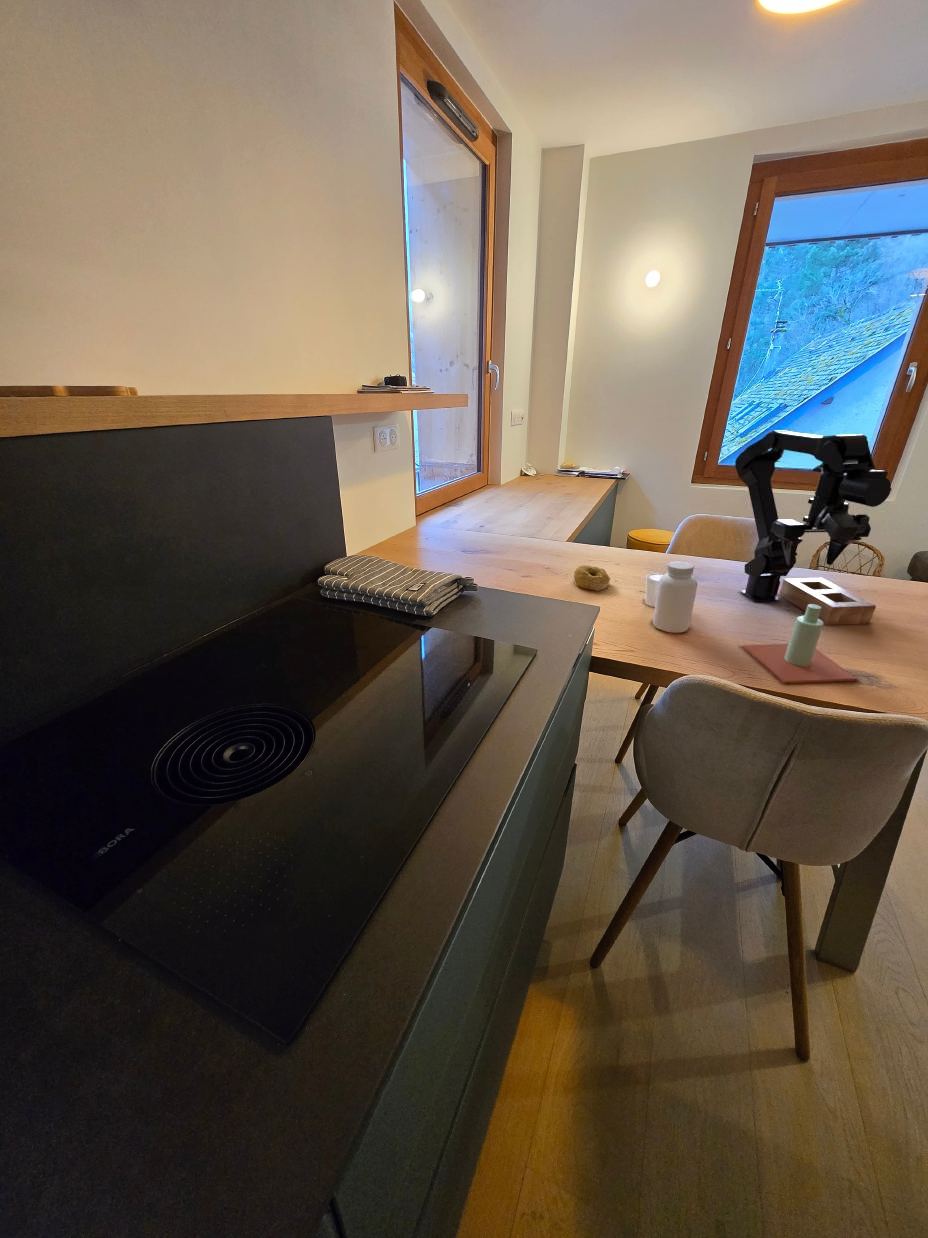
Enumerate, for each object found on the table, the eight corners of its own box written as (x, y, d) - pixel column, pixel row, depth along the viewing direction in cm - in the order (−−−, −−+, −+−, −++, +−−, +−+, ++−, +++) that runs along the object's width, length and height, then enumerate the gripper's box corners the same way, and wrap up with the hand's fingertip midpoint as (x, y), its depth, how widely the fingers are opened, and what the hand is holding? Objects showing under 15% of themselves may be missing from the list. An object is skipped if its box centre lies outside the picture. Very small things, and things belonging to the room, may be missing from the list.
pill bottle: (646, 619, 118) (655, 559, 111) (678, 617, 118) (690, 558, 112) (661, 634, 110) (672, 571, 104) (695, 632, 111) (708, 570, 104)
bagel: (583, 593, 133) (584, 576, 130) (567, 579, 142) (568, 563, 140) (617, 590, 134) (619, 573, 132) (599, 576, 144) (600, 560, 142)
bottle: (793, 667, 96) (811, 611, 91) (779, 655, 100) (795, 601, 95) (815, 666, 96) (834, 610, 91) (800, 655, 100) (818, 601, 95)
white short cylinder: (670, 599, 128) (675, 574, 125) (671, 610, 122) (676, 583, 119) (642, 596, 130) (646, 571, 127) (642, 606, 124) (646, 580, 121)
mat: (783, 683, 92) (784, 681, 92) (742, 647, 105) (743, 645, 104) (856, 680, 93) (857, 678, 92) (806, 645, 105) (807, 643, 105)
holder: (826, 624, 114) (832, 607, 112) (778, 594, 130) (783, 578, 128) (869, 623, 114) (876, 605, 112) (816, 593, 130) (821, 577, 128)
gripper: (811, 505, 99) (789, 578, 106) (903, 504, 99) (876, 576, 106) (778, 494, 109) (760, 561, 116) (862, 492, 109) (839, 559, 116)
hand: (808, 564), depth 113 cm, fingers open, 9 cm apart
